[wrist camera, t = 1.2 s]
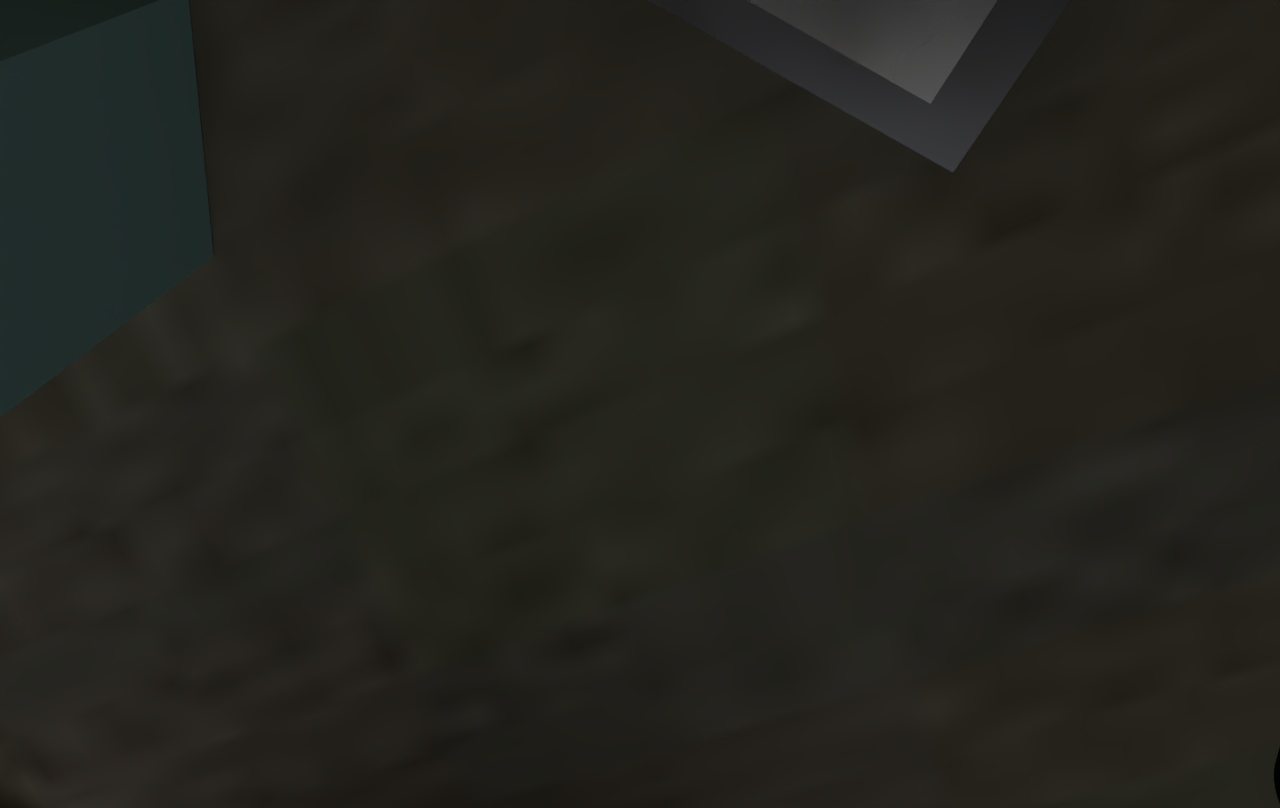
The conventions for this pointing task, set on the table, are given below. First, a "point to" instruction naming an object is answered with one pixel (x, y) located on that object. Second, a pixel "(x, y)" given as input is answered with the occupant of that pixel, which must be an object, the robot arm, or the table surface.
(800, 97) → the table surface
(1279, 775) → the robot arm
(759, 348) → the table surface
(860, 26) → the chassis
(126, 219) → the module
